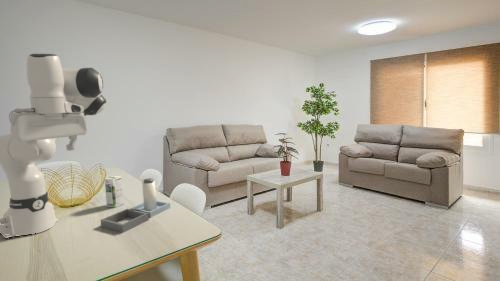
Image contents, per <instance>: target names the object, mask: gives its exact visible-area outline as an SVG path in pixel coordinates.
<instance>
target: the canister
mask: <svg viewBox="0 0 500 281" xmlns="http://www.w3.org/2000/svg"><path fill="white" fill-rule="evenodd" d="M141 183H142V197H143V198H142V199H143V203H144V210H145V211H152V210H155V209H157V204H156V201H157V191H156V181H155V180H154V178H153V177H152V178H151V177H149V178H144V179H143V180H142V182H141Z"/></svg>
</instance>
